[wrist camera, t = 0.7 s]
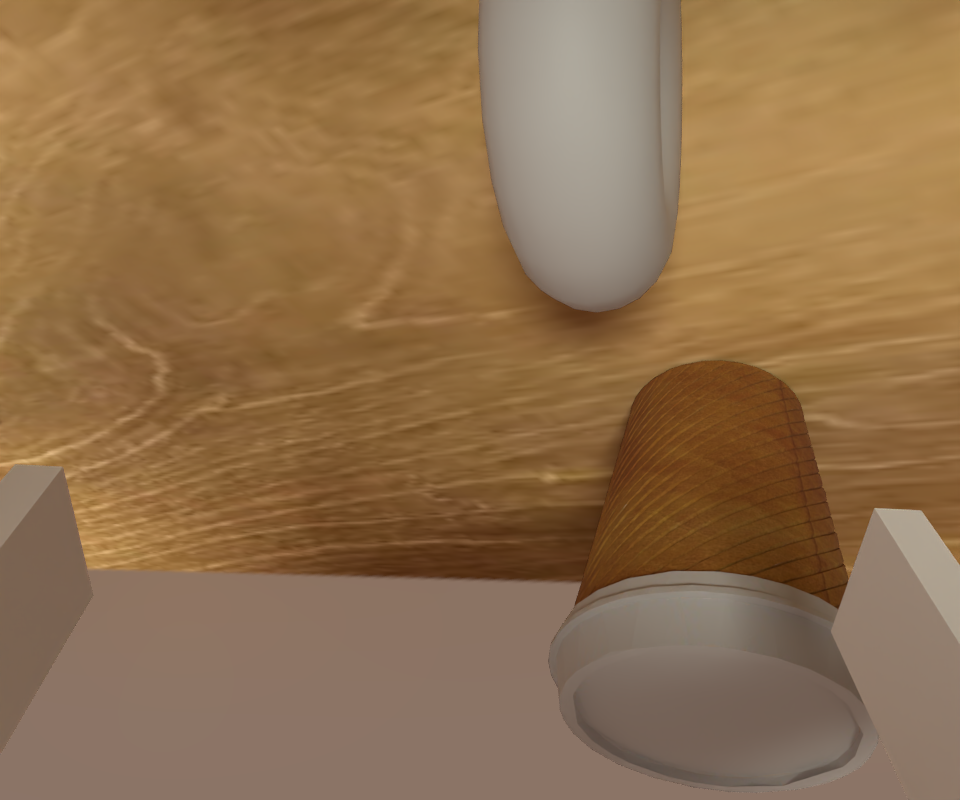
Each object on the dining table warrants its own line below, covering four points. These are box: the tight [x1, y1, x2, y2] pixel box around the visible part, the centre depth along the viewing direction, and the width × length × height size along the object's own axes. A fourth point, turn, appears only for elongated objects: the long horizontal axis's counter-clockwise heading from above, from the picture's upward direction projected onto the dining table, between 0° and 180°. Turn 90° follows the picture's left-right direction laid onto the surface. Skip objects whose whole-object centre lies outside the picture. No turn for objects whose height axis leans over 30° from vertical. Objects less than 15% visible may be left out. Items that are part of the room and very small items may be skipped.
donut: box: [478, 0, 682, 312], centre depth 19 cm, size 10×4×10 cm, turn 11°
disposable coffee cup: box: [549, 361, 879, 793], centre depth 28 cm, size 10×10×12 cm
